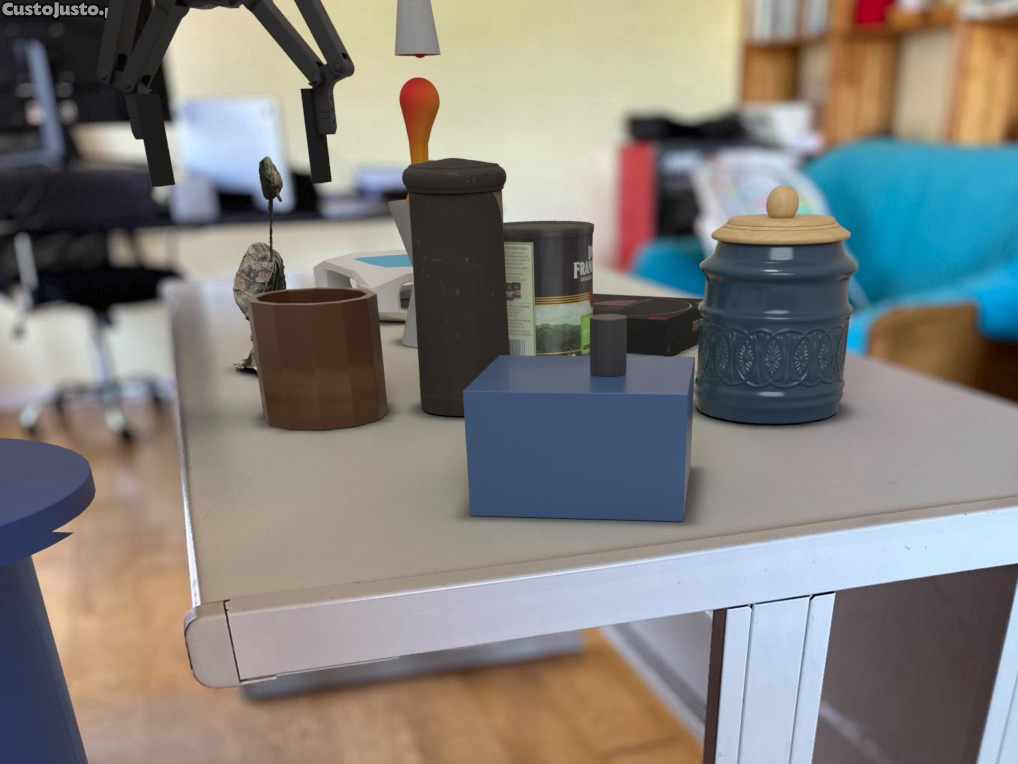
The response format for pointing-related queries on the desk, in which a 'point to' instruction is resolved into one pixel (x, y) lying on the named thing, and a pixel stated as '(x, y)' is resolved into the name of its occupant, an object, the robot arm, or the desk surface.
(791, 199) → the canister
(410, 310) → the lava lamp
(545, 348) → the coffee can
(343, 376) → the brown pot
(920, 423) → the desk surface
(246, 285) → the plant with pod
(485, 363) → the container
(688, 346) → the portable cd player
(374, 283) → the white boxy piece
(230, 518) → the desk surface
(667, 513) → the peg box
